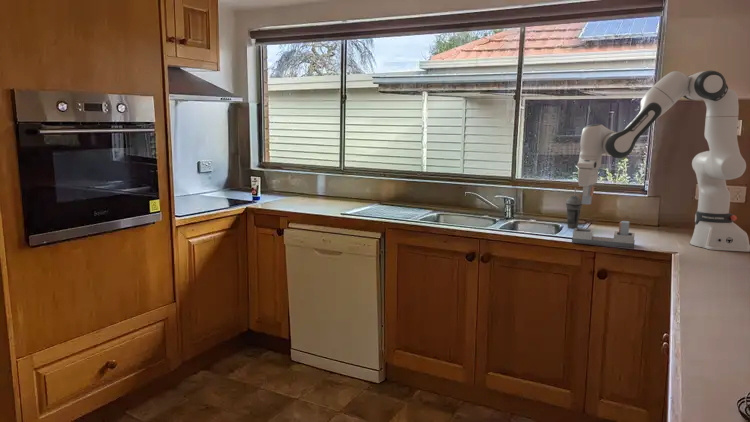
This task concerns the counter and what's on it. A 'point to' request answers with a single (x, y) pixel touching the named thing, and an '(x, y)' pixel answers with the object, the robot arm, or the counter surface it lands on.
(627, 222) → the block
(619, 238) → the rail
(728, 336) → the counter surface
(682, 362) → the counter surface
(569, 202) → the beverage cup
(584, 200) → the grey and orange block
